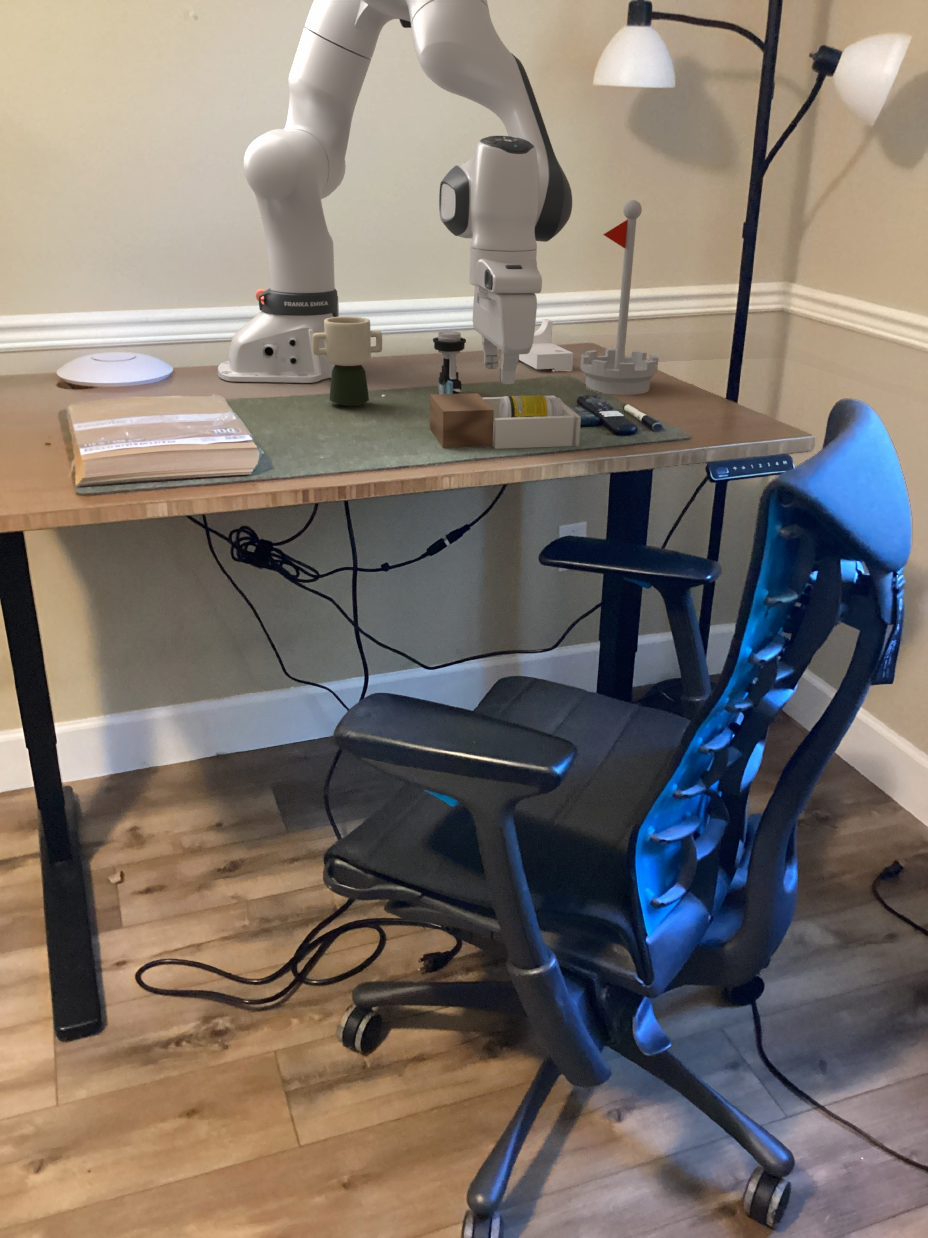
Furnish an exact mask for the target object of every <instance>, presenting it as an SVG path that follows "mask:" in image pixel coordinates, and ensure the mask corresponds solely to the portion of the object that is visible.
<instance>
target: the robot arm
mask: <svg viewBox="0 0 928 1238" xmlns="http://www.w3.org/2000/svg"><path fill="white" fill-rule="evenodd" d="M393 20H399V22H400V25H401V27H402V28H404V29H410V28H411V33H412V35H411V36H412V39H413V45H414V50H415V53H416V58H417V61H418V63H419V65H420V67H421V69H422V71H423V73H424V74H425V75H426V76H427V77H428V78H429V79H430V80H431V82H433V84H435V85H437V86H438V87H440V88H441V89H443V90H444V91H447V92H449V93H450V94H454V95H457V96H460V97H462V98H464V99H465V98H466V99H468V100H470V101H473V102H474V103H476V104H479V105H481V106H483V107H484V108H486V109H488V110H489V111H491V112H492V113H494V115H496V116H497V117H498V118H499V119H500V121H501V122H502V123H503V125H504V127H505V130H506V133H507V135H489V136H487V137H486V136H485V137H483V138H481V139H480V140H479V141H477V143H476V146H475V150H474V155H472V157H471V158H470V159H468V160H467V161H465V162H464V163H462V164H459V165H455V166H453V167H452V168H451V169H449V171H448V172H447V173H446V174H445V176H444V177H443V178H442V180H441V181H440V185H439V195H438V198H439V199H438V205H439V218H440V221H441V223H442V224H443V225H444V226H445V228H446V229H447V230H448V231H449V232H450V233H451V234H452V235H453V236H454V237H460V238H463V239H471V241H470V246H469V253H470V254H469V284H470V285H472V286H474V289H473V290H474V291H473V306H472V307H473V308H472V325H473V326H472V327H473V330H474V331H476V332H477V333H478V334H480V335H481V344H482V345H481V346H482V350H483V366H484V367H485V368H486V369H487V370H497V369H498V367H499V356H498V350H500V351H501V353H500V354H501V355H500V357H501V360H502V361H501V367H500V368H499V380H500V381H501V383H503V384H504V385H512V384H514V383H515V381H516V371H517V369H518V364H519V361H520V360H519V354H528V353H529V352H530V350H531V347H532V344H533V339H534V332H536V331H535V329H536V321H537V310H538V298H537V295H536V294H540V293H542V288H543V278H542V277H543V276H542V274H541V273H540V271H539V269H538V268H539V267H538V261H537V252H538V251H537V249H538V244H537V242H543V243H546V242H549V241H550V240H551V239H553V238H554V237H556V236H557V235H558V234H559V233H560V232H561V231H562V230H563V229H564V227H565V226H566V225H567V224H568V222H569V219H570V218H571V214H572V210H573V209H572V208H573V195H572V194H573V193H572V189H571V185H570V182H569V179H568V178H567V176H566V174H565V172H564V170H563V168H562V166H561V164H560V163H559V161H558V159H557V156H556V154H555V151H554V147H553V145H552V143H551V139H550V137H549V133H548V131H547V127H546V125H545V122H544V121H545V120H544V118H543V116H542V113H541V110H540V107H539V104H538V102H537V98H536V95H535V93H534V90H533V87H532V84H531V82H530V78H529V76H528V73H527V71H526V69H525V67H524V65H523V63H522V61H521V60H520V59H519V58H518V57H517V56H516V55H514V53H512V52H510V50H509V49H508V48H507V46H506V45H505V44H504V42H503V41H502V40H501V38H500V36H499V34H498V33H497V31H496V28H495V26H494V24H493V22H492V18H491V15H490V9H489V3H488V0H313V2H312V4H311V7H310V9H309V12H308V14H307V18H306V21H305V23H304V27H303V29H302V33H301V36H300V40H299V43H298V46H297V49H296V52H295V55H294V58H293V62H292V65H291V68H290V72H289V74H288V78H287V79H288V80H287V83H288V89H289V102H288V109H287V116H286V117H287V118H286V123H285V126H284V127H283V128H276V129H271V130H269V131H266V132H265V133H262V134H261V135H259V136H258V137H257V138H255V139H254V140H253V141H251V143H250V144H249V145H248V147H247V149H246V150H245V153H244V157H243V172H244V176H245V179H246V182H247V183H248V185H249V187H250V189H252V191H253V193H254V196H255V199H256V202H257V206H258V210H259V214H260V218H261V220H262V221H261V222H262V226H263V229H264V234H265V240H266V246H267V247H266V248H267V257H268V258H267V261H268V262H267V263H268V275H269V277H268V278H269V288H268V289H266V290H265V289H263V288H259V289H257V290H256V292H255V294H254V295H255V298H256V300H257V301H258V305H259V306H258V309H259V311H260V312H259V313H257V314H256V315H255V316H253V317H252V318H251V319H250V320H249V321H248V322H247V323H246V324H244V325H243V326H242V327H241V328H240V329H239V330H237V331H236V332H235V333H234V335H233V336H232V338H231V341H230V346H229V350H228V351H229V352H228V353H229V354H228V355H229V356H228V360H226V361H223V362H221V363H220V364H219V365H218V367H217V375H218V377H219V378H220V379H222V380H225V381H227V382H243V383H244V382H245V383H248V382H250V383H253V382H254V383H301V384H302V383H304V384H305V383H306V384H308V383H311V384H312V383H317V382H319V381H323V380H325V379H331V376H332V370H333V367H334V366H335V365H334V364H331V363H329V362H327V359H326V357H325V355H315V354H314V353H313V343H312V336H313V334H314V333H324V320H325V319H327V318H332V317H340V313H339V311H340V308H339V307H340V306H339V295H338V291H337V289H336V286H335V259H334V257H335V255H334V254H335V253H334V252H335V251H334V250H335V249H334V242H333V241H334V240H333V237H332V236H331V234H330V232H329V229H328V226H327V222H326V219H325V214H324V209H323V204H322V203H323V202H322V200H323V199H326V198H327V197H328V196H330V195H331V194H332V193H334V192H335V190H336V189H337V188H339V186H340V185H341V184H342V182H343V180H344V178H345V175H346V174H345V173H346V154H347V149H348V144H349V139H350V134H351V133H350V132H351V127H352V121H353V117H354V112H355V109H356V104H357V103H358V99H359V96H360V93H361V91H362V87H363V84H364V82H365V79H366V76H367V73H368V70H369V67H370V64H371V61H372V58H373V55H374V52H375V49H376V47H377V43H378V39H379V36H380V34H381V31H382V29H383V28H384V26H385V25H386V24H387V23H389V22H390V21H393ZM319 348H325V339H319Z"/></svg>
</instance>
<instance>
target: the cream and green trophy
mask: <svg viewBox="0 0 928 1238" xmlns="http://www.w3.org/2000/svg"><path fill="white" fill-rule="evenodd" d="M371 338H375V344H376V345H375V346H374V345H373V346H372V345H371V344H372V341H371ZM319 339H325V348H319ZM312 343H313V353H314V354H315V355H325V357H326V359H327V362H329V363H331V364H334V365H335V366H334V367H333V370H332V376H331V378H330V386H329V387H330V388H329V390H330V391H329V401H330V402H332V403H334V404H338V406H359V405H363V404H366V403H367V402H368V401H370V396H369V387H368V381H367V375H366V370H365V368H364V366H363V365H366V364H368V363H370V361H371V357H372V353H377V354H378V353H381V352H382V350H383V333H382V330H371V320H370V319H369V318H366V317H359V316H347V315H346V316H339V317H332V318H327V319H325V320H324V333H314V334H313V336H312Z"/></svg>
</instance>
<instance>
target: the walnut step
mask: <svg viewBox="0 0 928 1238" xmlns="http://www.w3.org/2000/svg"><path fill="white" fill-rule="evenodd" d="M483 398H484V397H482V396H481V395H480V393H477V392H476V393H459V394H439V393H437V394H433V393H432V394H429V418H430V419H429V430H430V431H431V432H432V433H431V434H432V435H434V437H435V439H436V440H437V441H438V443H439V444H440V446H441V447H442V449H443V448H444V449H445V448H469V447H470V448H471V447H493V420H494V410H493V409H492V407H491V406H490V405H489V404H488V403H487V402H486V401H485V400H484V399H483Z"/></svg>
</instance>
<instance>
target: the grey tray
mask: <svg viewBox="0 0 928 1238" xmlns="http://www.w3.org/2000/svg"><path fill="white" fill-rule="evenodd" d="M545 396H546V397H547V398H548V399H549V398H557V397H556V396H555V395H545ZM502 397H503V396H493V397H492V396H491V397H490V396H489V397H488V396H486V397H482V398H483V399H484V400H485V401H486V402H487V403H488V404H489V405H490V406H491V407H492V409H493V410H494V420H493V446H492V448H494V449H495V450H498V449H499V450H502V449H524V448H525V449H526V448H543V447H544V448H546V447H547V448H552V447H579V446H580V436H581V421H582V420H581V419H582V417H581V416H580V415H579V414H578V413H576V411H575V410H573V409H571V407H569V406H568V405H566V404H565V403H564V401H562V404H563V416H544V417H513V418H500V416H499V406H500V401H501V399H502Z"/></svg>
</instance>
